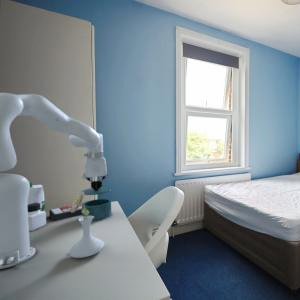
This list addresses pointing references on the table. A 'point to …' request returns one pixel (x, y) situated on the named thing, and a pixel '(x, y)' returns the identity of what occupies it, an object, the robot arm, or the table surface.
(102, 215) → the tin
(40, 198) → the milk carton
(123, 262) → the table surface
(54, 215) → the calculator
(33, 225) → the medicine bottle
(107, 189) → the lid
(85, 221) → the flower in vase
